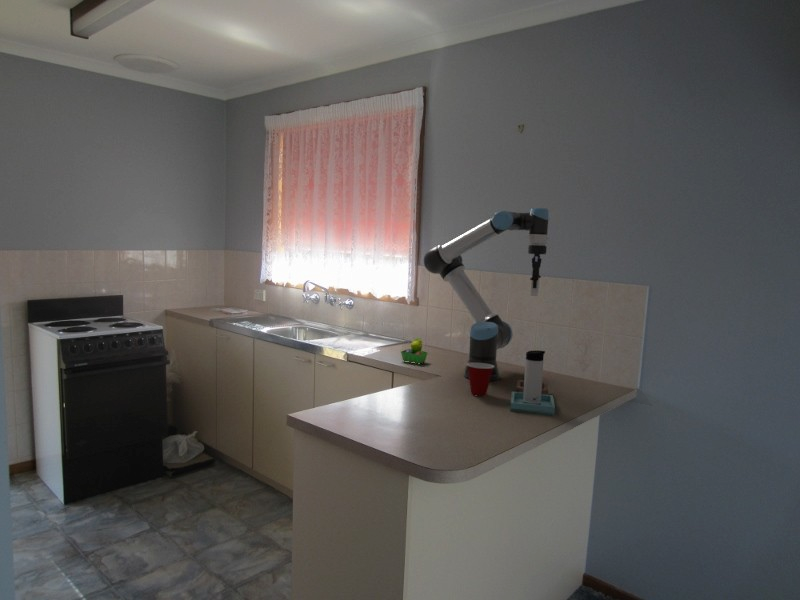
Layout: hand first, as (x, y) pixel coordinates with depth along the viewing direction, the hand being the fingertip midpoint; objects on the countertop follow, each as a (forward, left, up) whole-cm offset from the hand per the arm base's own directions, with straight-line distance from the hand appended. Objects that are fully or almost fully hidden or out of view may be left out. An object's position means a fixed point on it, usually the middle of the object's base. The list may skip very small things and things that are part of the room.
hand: (534, 294), depth 243 cm
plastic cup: (-19, -34, -37) cm, 54 cm away
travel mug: (+1, -44, -36) cm, 57 cm away
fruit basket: (-53, +10, -37) cm, 66 cm away
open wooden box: (+1, -28, -37) cm, 46 cm away
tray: (+1, -44, -37) cm, 57 cm away
